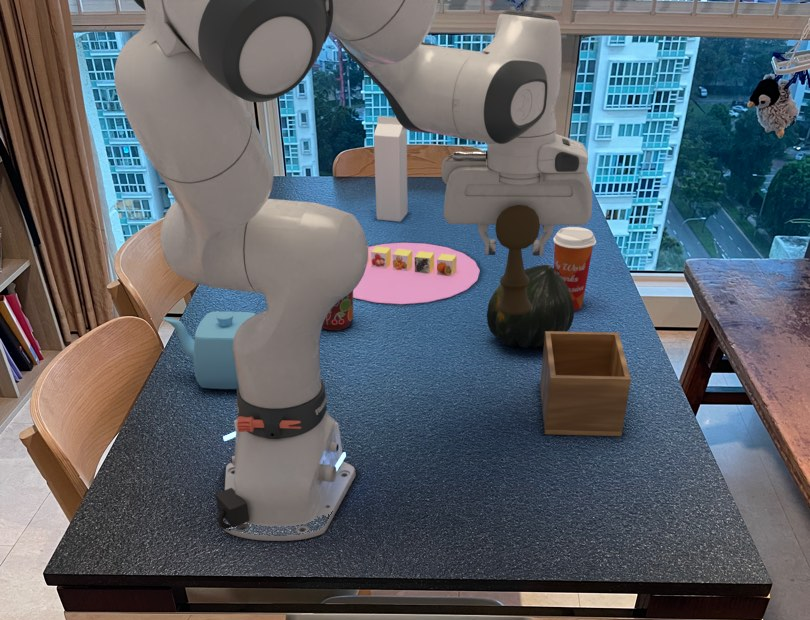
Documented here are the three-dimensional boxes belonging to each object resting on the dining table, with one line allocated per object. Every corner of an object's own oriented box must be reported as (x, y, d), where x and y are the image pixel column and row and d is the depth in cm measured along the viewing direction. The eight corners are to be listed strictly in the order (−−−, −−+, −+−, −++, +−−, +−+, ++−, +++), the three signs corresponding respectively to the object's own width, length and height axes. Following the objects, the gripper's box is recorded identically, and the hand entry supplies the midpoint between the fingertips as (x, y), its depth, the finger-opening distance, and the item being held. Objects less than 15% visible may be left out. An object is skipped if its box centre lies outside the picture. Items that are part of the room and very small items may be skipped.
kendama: (495, 325, 126) (495, 181, 114) (492, 299, 134) (491, 161, 122) (537, 323, 126) (541, 178, 114) (532, 297, 133) (535, 158, 121)
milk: (384, 211, 212) (381, 112, 198) (408, 213, 211) (406, 114, 197) (376, 220, 208) (372, 119, 194) (400, 222, 206) (398, 121, 192)
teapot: (184, 358, 155) (172, 297, 148) (284, 361, 154) (277, 299, 147) (164, 394, 146) (150, 330, 138) (271, 397, 144) (263, 332, 137)
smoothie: (351, 335, 161) (345, 227, 148) (307, 332, 163) (297, 224, 150) (362, 316, 167) (357, 210, 155) (319, 313, 169) (311, 207, 156)
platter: (359, 236, 199) (358, 222, 197) (496, 252, 191) (497, 236, 189) (301, 293, 176) (300, 277, 174) (455, 313, 168) (455, 296, 166)
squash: (469, 297, 161) (498, 255, 146) (542, 286, 165) (577, 246, 151) (490, 369, 159) (522, 335, 145) (563, 357, 163) (600, 322, 149)
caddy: (621, 436, 134) (631, 379, 128) (544, 434, 134) (550, 377, 128) (610, 386, 145) (618, 332, 139) (540, 385, 146) (545, 331, 140)
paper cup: (541, 309, 169) (547, 236, 160) (555, 294, 174) (562, 223, 165) (580, 316, 166) (589, 243, 157) (593, 301, 171) (602, 229, 162)
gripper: (440, 158, 114) (439, 261, 123) (600, 159, 113) (587, 263, 122) (442, 144, 119) (441, 244, 128) (595, 144, 118) (583, 246, 126)
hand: (514, 254), depth 125 cm, fingers closed on kendama, 5 cm apart
